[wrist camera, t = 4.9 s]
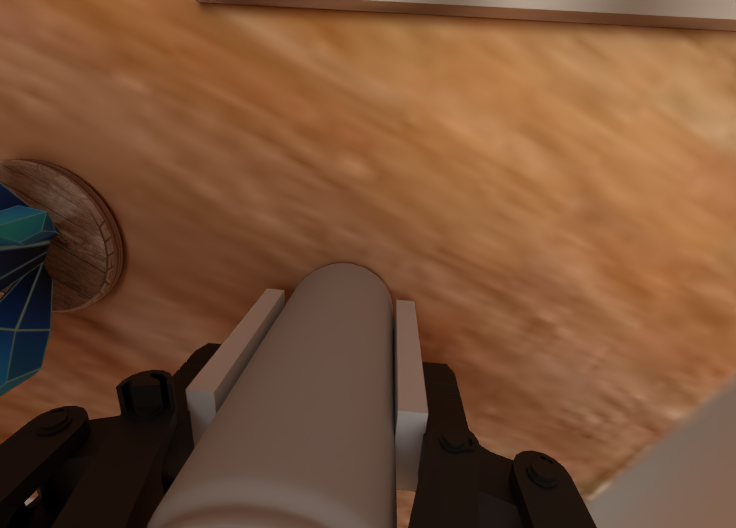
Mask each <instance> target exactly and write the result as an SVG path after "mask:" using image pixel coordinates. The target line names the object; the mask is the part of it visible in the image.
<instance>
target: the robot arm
mask: <svg viewBox="0 0 736 528" xmlns="http://www.w3.org/2000/svg"><path fill="white" fill-rule="evenodd" d="M284 306H285V290H278V289H266V290H265V292H264V293H263V294H262V295H261V297H260V298H259V299H258V300H257V302H256V303H255V304H254V305H253V307H252V308H251V309H250V310H249V312H248V313H247V314H246V315H245V317H244V318H243V319H242V320H241V321H240V323H239V324H238V325H237V326H236V328H235V329H234V330H233V331H232V333H231V334H230V335H229V336H228V338H227V339H226V340H225V341H224V343H223V344H212V343H208V344H206V345H205V346H203V347H201V348H200V349H198V350H196V351H195V352H194V353H193V354H192V355H191V356H190V358H189V359H188V360H187V362H185V363H184V364H183V365H182V366H181V368H180V370H178V371H177V372H176V373H175V374H174V375H173V376H171V374H170V373H168V372H165V371H163V370H150V371H143V372H140V373H137V374H134V375H132V376H130V377H128V378H126V379H125V380H123V381H122V382H121V383H120V384H119V385H118V386H117V387H116V389H117V394H118V399H119V404H120V409H121V414H120V415H119V416H114V417H107V418H100V419H93V420H89V418H88V414H87V412H86V411H85V409H84V408H81V407H78V406H64V407H60V408H56V409H52V410H50V411H48V412H45V413H43V414H41V415H39V416H37V417H36V418H34V419H33V420H31V421H30V422H28V423H27V424H26V425H25V426H23V427H22V428H21V429H20V430H18V431H17V432H16V433H15V434H13V435H12V436H11V437H10V438H8V439H7V440H6V441H5V442H3V443H2V444H1V445H0V528H147V525H148V522H149V521H150V519H151V517H152V515H153V513H154V512H155V510H156V509H157V507H158V505H159V504H160V502H161V501H162V499H163V498H164V496H165V494H166V493H167V491H168V490H169V488H170V486H171V485H172V483H173V482H174V480H175V479H176V477H177V475H178V474H179V472H180V471H181V469H182V467H183V466H184V464H185V463H186V461H187V459H188V458H189V456H190V455H191V453H192V452H193V450H194V448H195V447H196V445H197V444H198V442H199V440H200V439H201V437H202V436H203V434H204V432H205V431H206V429H207V428H208V426H209V425H210V423H211V421H212V420H213V418H214V417H215V415H216V413H217V412H218V410H219V409H220V407H221V406H222V404H223V402H224V401H225V399H226V398H227V396H228V394H229V393H230V391H231V390H232V388H233V386H234V385H235V383H236V382H237V380H238V379H239V377H240V375H241V374H242V372H243V371H244V369H245V368H246V366H247V364H248V363H249V361H250V360H251V358H252V356H253V355H254V353H255V352H256V350H257V349H258V347H259V345H260V344H261V342H262V341H263V339H264V338H265V336H266V335H267V333H268V331H269V330H270V328H271V327H272V325H273V324H274V322H275V320H276V319H277V317H278V316H279V314H280V313H281V311H282V309H283V308H284ZM393 386H394V420H395V453H396V490H405V491H415V492H416V494H415V498H414V503H413V508H412V512H411V517H410V522H409V526H408V528H597V527H596V525H595V523H594V521H593V519H592V517H591V515H590V513H589V511H588V509H587V507H586V505H585V504H584V502H583V500H582V498H581V496H580V494H579V492H578V490H577V488H576V486H575V484H574V482H573V480H572V478H571V476H570V475H569V473H568V472H567V471H566V469H565V468H564V467H563V466H562V465H561V464H560V463H558V462H557V461H556V460H555V459H553V458H551V457H549V456H548V455H546V454H544V453H540V452H536V451H522V452H521V453H519V454H517V455H516V456H515V458H514V460H511V459H508V458H505V457H503V456H500V455H497V454H495V453H492V452H490V451H488V450H487V449H485V448H484V447H482V446H481V445H480V444H479V441H478V440H477V438H476V437H475V435H474V434H473V433H472V432H471V431H469V429H468V425H467V421H466V417H465V413H464V409H463V405H462V401H461V397H460V393H459V389H458V387H457V381H456V377H455V374H454V373H453V371H452V370H451V369H450V368H449V367H448V365H447V364H439V363H428V362H422V358H421V350H420V342H419V334H418V326H417V317H416V309H415V301H406V300H396V310H395V320H394V330H393ZM36 490H37V492H38V496H37V497H36V498H35V499H34V500H33V501H32V502H31V503H30V504H28V505H27V506H26V505H25V503H24V502H25V501H26V500H27V499H28V498H29V497H30V496H31V495H32V494H33V493H34V492H35V491H36Z"/></svg>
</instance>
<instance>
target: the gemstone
mask: <svg viewBox="0 0 736 528" xmlns="http://www.w3.org/2000/svg"><path fill="white" fill-rule="evenodd" d="M122 264H123V247H122V241H121V237H120V233H119V230H118V228H117V225H116V223H115V221H114V219H113V217H112V215H111V213H110V211H109V210H108V208H107V207H106V205H105V204H104V202H103V201H102V200H101V199H100V197H99V196H98V195H97V194H96V193H95V192H94V191H93V190H92V189H91V188H90V187H89V186H88V185H87V184H86V183H84V182H83V181H82V180H81V179H79V178H78V177H77V176H75V175H74V174H72V173H70V172H68V171H67V170H65V169H63V168H61V167H59V166H56V165H54V164H51V163H48V162H45V161H40V160H34V159H12V160H2V161H0V292H3V293H5V294H4V295H3V297H2V298H1V299H0V396H1V395H3V394H5V393H6V392H8V391H9V390H11V389H12V388H14V387H16V386H17V385H19V384H20V383H22V382H23V381H25V380H27V379H28V378H30V377H31V376H33V375H34V374H35V373H37V372H38V371H39V370H40V369H41V367H42V363H43V359H44V355H45V351H46V347H47V343H48V339H49V335H50V331H51V314H52V312H57V313H66V312H73V311H78V310H81V309H84V308H86V307H88V306H90V305H92V304H94V303H95V302H97V301H99V300H100V299H102V298H103V297H105V296H106V295H107V294H108V293H109V292H110V291H111V290H112V289H113V287H114V286H115V285H116V283H117V281H118V279H119V276H120V273H121V270H122Z"/></svg>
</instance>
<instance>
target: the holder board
mask: <svg viewBox="0 0 736 528" xmlns="http://www.w3.org/2000/svg"><path fill="white" fill-rule="evenodd" d="M196 1H197V2H205V3H224V4H242V5H261V6H279V7H298V8H316V9H335V10H354V11H372V12H391V13H409V14H428V15H447V16H465V17H484V18H502V19H521V20H540V21H558V22H577V23H595V24H614V25H632V26H651V27H670V28H688V29H707V30H725V31H736V0H196Z"/></svg>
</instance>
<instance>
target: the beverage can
mask: <svg viewBox="0 0 736 528" xmlns="http://www.w3.org/2000/svg"><path fill="white" fill-rule="evenodd" d="M147 528H397V505H396V453H395V420H394V386H393V304H392V298H391V295H390V293H389V291H388V289H387V286H386V285H385V284H384V283H383V281H382V280H381V279H380V278H379V277H378V276H377V275H376V274H374V273H373V272H371V271H369V270H368V269H366V268H364V267H361V266H358V265H355V264H351V263H335V264H331V265H326V266H323V267H321V268H319V269H317V270H315V271H313V272H312V273H310V274H309V275H308V276H307V277H305V278H304V279H303V280H302V281H301V282H300V284H299V285H298V286H297V288H296V289H295V290H294V292H293V294H292V295H291V297H290V298H289V300H288V301H287V303H286V305H285V306H284V308H283V309H282V311H281V313H280V314H279V316H278V317H277V319H276V320H275V322H274V324H273V325H272V327H271V328H270V330H269V331H268V333H267V335H266V336H265V338H264V339H263V341H262V342H261V344H260V345H259V347H258V349H257V350H256V352H255V353H254V355H253V356H252V358H251V360H250V361H249V363H248V364H247V366H246V368H245V369H244V371H243V372H242V374H241V375H240V377H239V379H238V380H237V382H236V383H235V385H234V386H233V388H232V390H231V391H230V393H229V394H228V396H227V398H226V399H225V401H224V402H223V404H222V406H221V407H220V409H219V410H218V412H217V413H216V415H215V417H214V418H213V420H212V421H211V423H210V425H209V426H208V428H207V429H206V431H205V432H204V434H203V436H202V437H201V439H200V440H199V442H198V444H197V445H196V447H195V448H194V450H193V452H192V453H191V455H190V456H189V458H188V459H187V461H186V463H185V464H184V466H183V467H182V469H181V471H180V472H179V474H178V475H177V477H176V479H175V480H174V482H173V483H172V485H171V486H170V488H169V490H168V491H167V493H166V494H165V496H164V498H163V499H162V501H161V502H160V504H159V505H158V507H157V509H156V510H155V512H154V513H153V515H152V517H151V519H150V521H149V522H148V525H147Z"/></svg>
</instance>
